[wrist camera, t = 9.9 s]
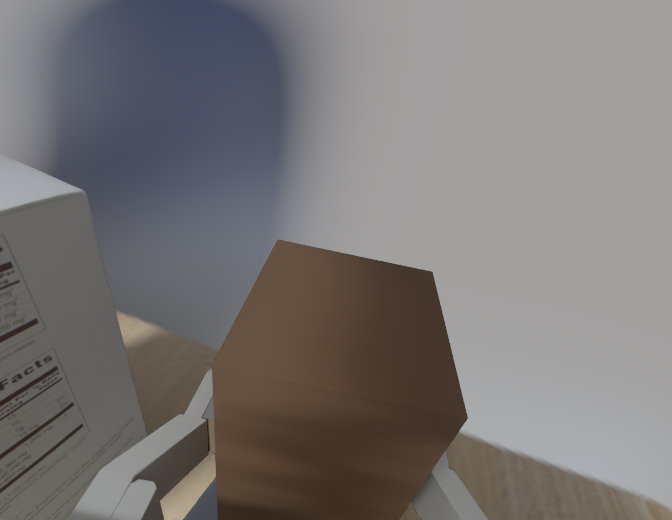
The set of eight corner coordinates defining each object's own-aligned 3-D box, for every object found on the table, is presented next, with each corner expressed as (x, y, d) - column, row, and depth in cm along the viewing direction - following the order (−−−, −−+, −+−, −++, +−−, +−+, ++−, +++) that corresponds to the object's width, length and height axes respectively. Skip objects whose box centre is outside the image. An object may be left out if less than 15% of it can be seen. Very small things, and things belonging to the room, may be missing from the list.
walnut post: (219, 570, 12) (212, 365, 6) (258, 443, 16) (277, 239, 10) (346, 596, 12) (467, 418, 6) (353, 463, 16) (432, 271, 10)
